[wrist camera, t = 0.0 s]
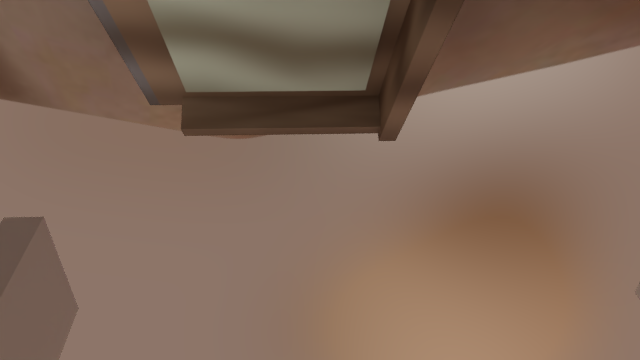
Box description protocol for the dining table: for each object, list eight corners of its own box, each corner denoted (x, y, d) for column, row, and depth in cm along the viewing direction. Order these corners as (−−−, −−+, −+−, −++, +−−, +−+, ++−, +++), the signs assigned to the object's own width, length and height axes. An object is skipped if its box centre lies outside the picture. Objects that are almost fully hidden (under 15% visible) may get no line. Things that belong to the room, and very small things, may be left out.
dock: (47, -154, 19) (28, -21, 18) (457, -149, 20) (474, -21, 18) (153, 60, 33) (147, 144, 32) (388, 58, 34) (395, 140, 33)
